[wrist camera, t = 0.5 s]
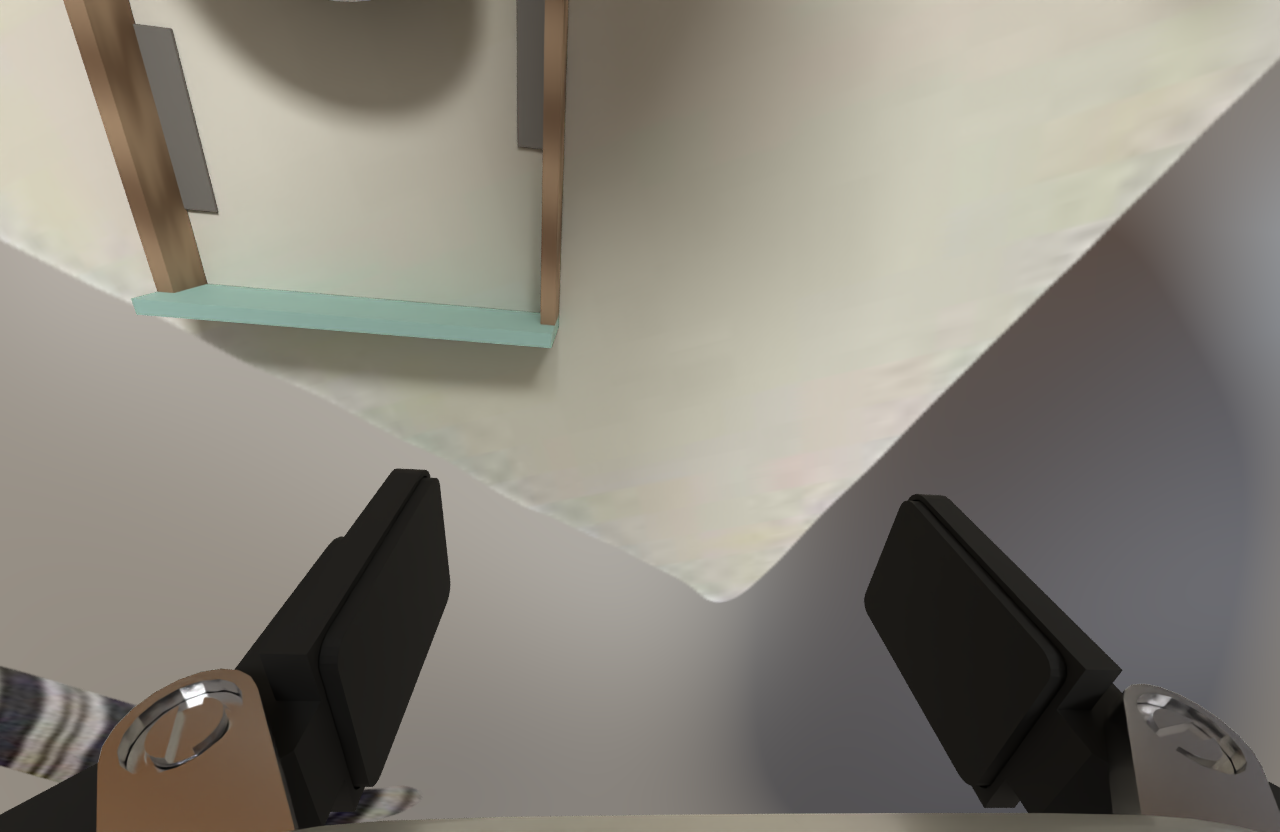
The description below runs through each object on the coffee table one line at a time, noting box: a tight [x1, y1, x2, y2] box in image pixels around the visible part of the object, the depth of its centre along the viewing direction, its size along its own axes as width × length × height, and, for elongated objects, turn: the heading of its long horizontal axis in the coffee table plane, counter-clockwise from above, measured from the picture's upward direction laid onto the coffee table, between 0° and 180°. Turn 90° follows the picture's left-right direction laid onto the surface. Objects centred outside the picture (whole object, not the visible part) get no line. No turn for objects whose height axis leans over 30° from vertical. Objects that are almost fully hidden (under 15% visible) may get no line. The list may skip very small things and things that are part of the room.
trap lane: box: [63, 0, 569, 348], centre depth 29 cm, size 28×26×5 cm
